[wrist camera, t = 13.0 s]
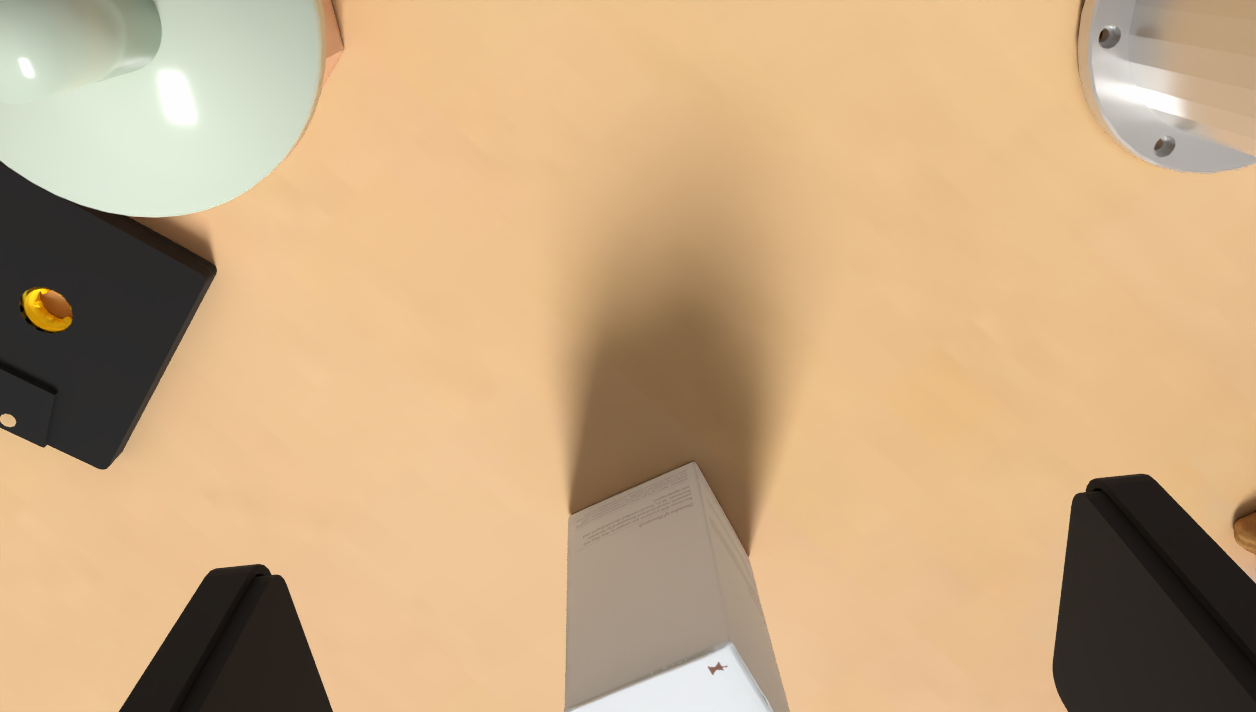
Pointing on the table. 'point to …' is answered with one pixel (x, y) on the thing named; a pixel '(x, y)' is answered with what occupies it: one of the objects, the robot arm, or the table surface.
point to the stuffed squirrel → (1246, 532)
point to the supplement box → (665, 606)
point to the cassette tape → (86, 318)
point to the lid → (156, 97)
